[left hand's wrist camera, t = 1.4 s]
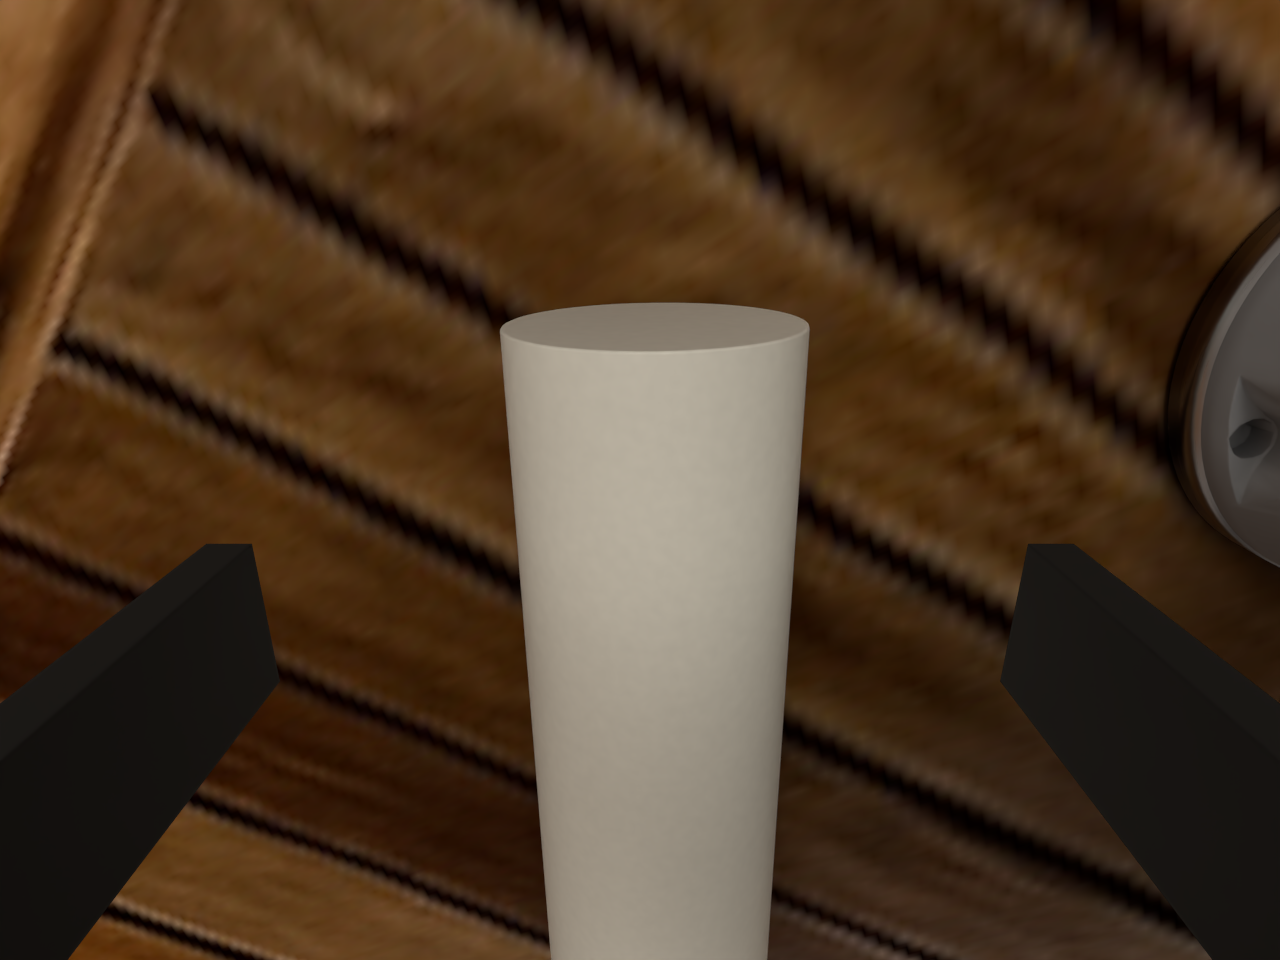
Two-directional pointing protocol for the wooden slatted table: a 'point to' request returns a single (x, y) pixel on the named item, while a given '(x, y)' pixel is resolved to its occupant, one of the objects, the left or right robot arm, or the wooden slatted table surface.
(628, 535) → the rod
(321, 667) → the wooden slatted table surface
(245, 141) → the wooden slatted table surface
